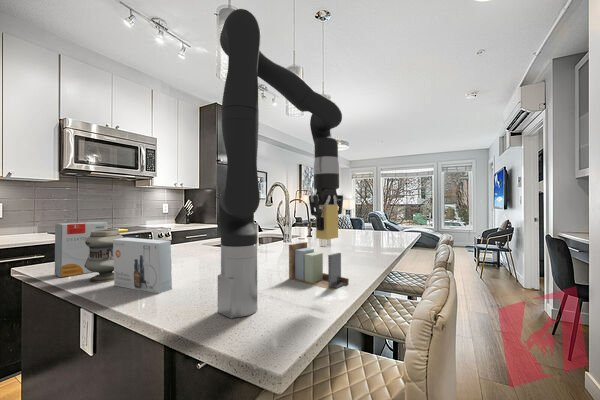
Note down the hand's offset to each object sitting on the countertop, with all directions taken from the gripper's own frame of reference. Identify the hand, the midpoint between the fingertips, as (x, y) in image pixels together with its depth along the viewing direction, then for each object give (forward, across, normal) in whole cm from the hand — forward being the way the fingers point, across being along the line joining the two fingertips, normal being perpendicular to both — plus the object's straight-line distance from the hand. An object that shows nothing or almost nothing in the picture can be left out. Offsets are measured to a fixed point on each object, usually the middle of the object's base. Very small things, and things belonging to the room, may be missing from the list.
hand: (327, 229), depth 85 cm
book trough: (+20, +6, +9) cm, 23 cm away
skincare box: (+19, -36, +49) cm, 64 cm away
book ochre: (+3, 0, 0) cm, 3 cm away
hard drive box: (+19, -46, +89) cm, 102 cm away
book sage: (+19, +6, +11) cm, 22 cm away
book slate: (+19, +6, +15) cm, 25 cm away
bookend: (+19, +6, +2) cm, 20 cm away
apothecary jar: (+19, -41, +71) cm, 84 cm away
